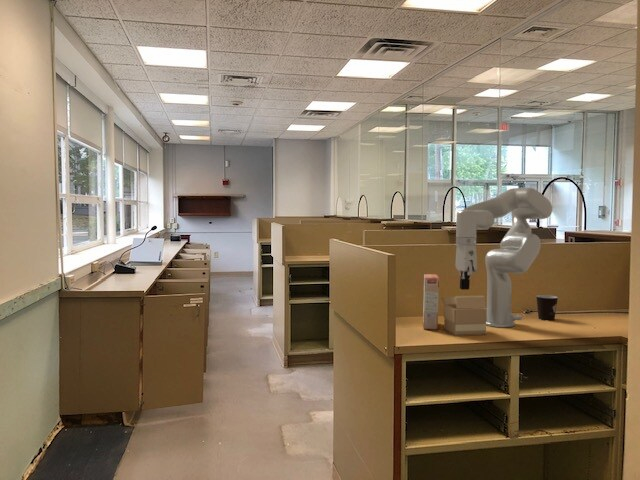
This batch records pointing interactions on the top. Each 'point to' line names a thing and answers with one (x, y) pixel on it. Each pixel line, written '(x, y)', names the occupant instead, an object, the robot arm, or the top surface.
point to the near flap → (470, 302)
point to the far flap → (449, 300)
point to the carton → (465, 320)
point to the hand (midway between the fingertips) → (464, 289)
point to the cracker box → (430, 301)
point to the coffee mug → (546, 307)
